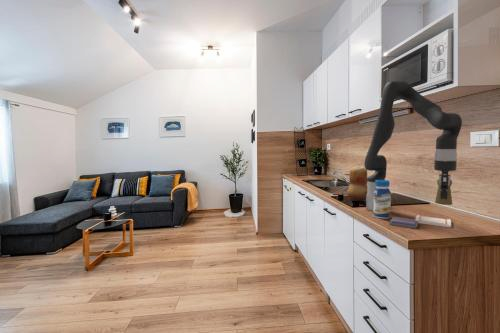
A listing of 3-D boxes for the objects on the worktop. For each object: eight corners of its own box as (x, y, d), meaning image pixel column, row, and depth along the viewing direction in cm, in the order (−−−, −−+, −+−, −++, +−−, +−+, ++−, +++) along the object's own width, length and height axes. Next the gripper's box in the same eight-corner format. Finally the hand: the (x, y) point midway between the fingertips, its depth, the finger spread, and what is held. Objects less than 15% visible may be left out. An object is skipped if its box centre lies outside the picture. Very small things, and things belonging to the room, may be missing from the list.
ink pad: (389, 224, 117) (389, 220, 117) (392, 219, 125) (392, 216, 125) (416, 228, 110) (416, 224, 110) (418, 223, 118) (418, 219, 118)
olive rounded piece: (433, 203, 106) (434, 178, 105) (436, 201, 111) (437, 177, 110) (451, 205, 102) (452, 179, 101) (453, 203, 106) (454, 178, 105)
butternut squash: (349, 203, 165) (349, 167, 164) (345, 199, 178) (346, 165, 177) (371, 203, 162) (371, 167, 161) (366, 199, 175) (366, 165, 174)
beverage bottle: (389, 215, 133) (389, 179, 132) (392, 219, 125) (392, 181, 124) (372, 214, 136) (372, 179, 135) (373, 218, 128) (374, 181, 127)
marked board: (414, 222, 120) (414, 220, 120) (416, 217, 129) (416, 215, 129) (451, 227, 111) (451, 225, 111) (450, 221, 120) (450, 219, 120)
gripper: (434, 158, 113) (433, 194, 114) (434, 160, 102) (432, 200, 103) (456, 158, 108) (454, 196, 109) (457, 160, 97) (455, 202, 98)
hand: (443, 198), depth 106 cm, fingers closed on olive rounded piece, 4 cm apart
